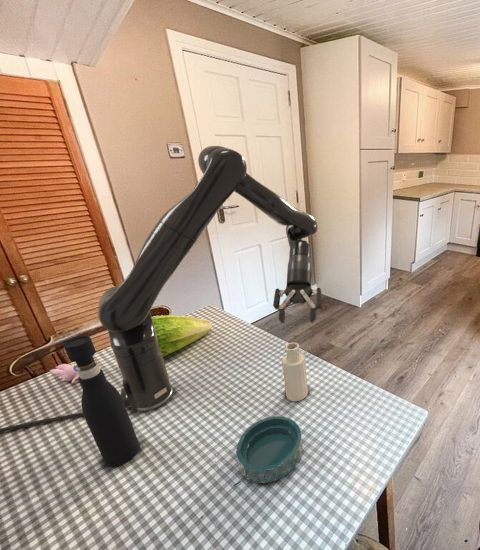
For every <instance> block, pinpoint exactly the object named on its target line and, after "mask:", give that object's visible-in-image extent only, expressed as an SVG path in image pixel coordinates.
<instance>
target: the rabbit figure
mask: <svg viewBox="0 0 480 550" xmlns="http://www.w3.org/2000/svg"><path fill="white" fill-rule="evenodd" d="M77 369H78V367H77V364H74V365H71V364H68V363H62V364H59V365H57V366H55V368H53V369H49V372H50V373H51V374H53V375H55V376H59V377H61V379H62V380H63V381H64V382H71V384H74V383H75V381H76V380H78V378H79V376H78V375H79V374H78V373H77Z"/></svg>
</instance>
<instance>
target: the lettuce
mask: <svg viewBox="0 0 480 550" xmlns="http://www.w3.org/2000/svg"><path fill="white" fill-rule="evenodd" d="M151 317H152V320H153V324H154V327H155V331H156V336H157V339H158V343H159V346H160V349H161V353H162V356H163V358H164V357H166V356H168V355H170V354H173V353H175V352H177V351H179V350H181V349H183V348H185V347H187V346H188V345H190V344H192V343H194V342H196V341H197V340H199V339H201V338H202V337H203V336H205V335H206V334H208V333H209V332H210V331H211V330H212V328H213V325H212V323H211V321H210V320H208V319H204V318H198V317H193V316H188V315H180V314H179V315H177V314H166V315H165V314H163V315H156V316H151Z"/></svg>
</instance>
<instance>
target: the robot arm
mask: <svg viewBox="0 0 480 550" xmlns="http://www.w3.org/2000/svg"><path fill="white" fill-rule="evenodd" d="M197 162H198V163H197V164H198V167H199V169H200V171H201V173H202V176H201V178H200V179H199V181H198V182H197V184H196V185H195V186H194V188H193V189H192V190H191V191H190V192H189V193H188V194H187V195H186V196H184V197H183V198H182V199H180V200H179V201H178V202H177V203H175V204H173V206H171V207H170V208H169V209H168V210H167V211H165V212H164V214H163V215H161V217H160V218H159V220H158V221H157V223H156V224H155V225H154V226H153V228H152V229H151V230H150V232H149V234H148V236H147V237H146V239H145V240H144V243H143V244H142V247H141V249H140V251H139V253H138V256H137V258H136V260H135V262H134V265H133V267H132V269H131V271H129V274H128V275H127V276H126V278H125V279H124V280H123V281H122V282H121V284H117V285H114V286H112V287H109V288H108V289H106V290H105V291H104V292H103V293H102V295H101V296H100V298H99V301H98V307H97V317H98V320H99V323H100V324H101V325H102V327H103V328H104V329H106V330H107V332H108V337H109V342H110V347H111V350H112V353H113V355H114V358H115V360H116V363H117V367H118V369H119V371H120V375H121V377H122V387H123V388H121V390H120V395H121V396H122V398H123V401H124V404H125V406H126V408H130V409H131V412H132V413H136V412H149V411H153V410H155V409H157V408H159V407H161V406H163V405H165V404H166V403H167V402H168V401H169V400H170V399H171V398H172V397H173V395H174V389H173V387H172V384H171V380H170V377H169V374H168V371H167V367H166V363H165V359H164V357H163V356H162V353H161V349H160V346H159V343H158V339H157V336H156V331H155V327H154V324H153V320H152V317H153V316H152V314H151V309H152V307H153V305H154V304H155V302H156V300H157V298H158V296H159V295H160V293H161V292H162V289H163V288H164V286H165V285H166V283H168V281H169V279H171V277H172V276H173V275H174V274H175V273H176V272H177V270H178V268H179V267H181V264H182V263H183V262H184V261H185V259H186V258H187V256H188V255H189V254H190V252H191V251H192V249H194V247H195V246H196V244H197V242H198V241H199V239H200V238H201V237H202V234H203V233H204V231H206V230H207V227H208V226H209V225H210V223H211V222H212V220H213V219H214V217H215V216H216V214H217V213H218V211H219V210H220V208H221V207H222V206H223V205H224V204H225V202H226V201H227V200H228V199H229V198H230V197H231V196H232V195H233V193H234V192H235V193H236V194H237V195H239V196H241V197H242V198H244V199H245V200H246V201H247V202H249V203H250V204H252V205H253V206H254V207H255V208H257V209H258V210H259V211H260V212H262V213H263V214H265V215H266V216H267V217H269V218H270V219H271V220H273V221H274V222H275V223H277V224H279V225H280V226H282V227H285V235H286V237H287V243H288V246H289V252H288V253H289V256H288V263H287V271H286V273H287V274H286V286H285V289H280V288H276V289H274V296H273V304H272V306H273V308H274V310H276V311H278V321H279V322H280V323H281V324H285V320H286V310H287V308H288V307H290V306H291V304H294V305H297V304H302V305H303V304H307V305H308V306H309V307H310V312H309V313H310V314H309V316H310V318H309V321H310V323H312V324H313V323H314V321H316V320H317V319H316V318H317V310H321V309H323V300H322V299H323V297H322V296H323V295H322V288H321V287H317V288H313V289H312V277H313V275H312V274H313V264H312V254H313V253H312V252H313V251H312V244H311V243H310V242H308V241H307V240H304V239H306V238H309V237H312V236H314V235H315V234H316V233H317V232H318V229H319V227H318V222H317V220H316V219H315V218H314V217H313V216H312V214H310V213H308V212H306V211H304V210H301V209H299V208H297V207H294V206H293V205H291V204H290V203H289V202H288V201H287V200H285V199H284V198H282V197H281V196H280V195H279V194H278V193H276V192H275V191H274V190H272V189H270V188H269V187H267V186H265V185H264V184H262V183H261V182H260V181H258V180H256V179H255V178H254V177H252V176H251V175H250V174H249V173H248V172H247V170H248V167H247V162H246V159H245V158H244V156H243V155H242V153H239V152H238V151H236V150H234V149H232V148H228V147H225V146H221V145H208V146H206V147H204V148H203V149H202V150H201V151H200V152H199V155H198V160H197ZM313 294H314V297H316V302H317V303H314V302H313V300H312V299H311V296H312V295H313ZM284 295H285V296H286V297H285V298H284V299H283V301H282V303H281V298H283V296H284ZM78 417H84V415H83V412H76V413H70V414H66V415H60V416H55V417H50V418H45V419H40V420H34V421H29V422H25V423H20V424H15V425H10V426H6V427H1V428H0V433H3V432H9V431H12V430H17V429H22V428H26V427H32V426H36V425H37V426H38V425H40V424H46V423H52V422H57V421H58V422H59V421H62V420H68V419H72V418H78Z"/></svg>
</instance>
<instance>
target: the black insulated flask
mask: <svg viewBox="0 0 480 550" xmlns="http://www.w3.org/2000/svg"><path fill="white" fill-rule="evenodd" d="M63 348H64V351H65V353H66V355H67V358H68V360H69V362H72V363H73V362H74V363H76V365H77V367H78V369H77V373H78V374H79V375H78V376H79V378H78V379H77V380H78V382H79V384H80V388H81V389H82V393H81V401H80V402H81V403H80V404H81V411H82V412H83V415H84V416H83V417H84V420H85V422H86V424H87V426H88V429H89V431H90V433H91V435H92V438H93V440H94V442H95V445H96V446H97V449H98V451H99V454H100V456H101V457H102V460H103V463H104V465H105V466H106V467H108V468H115V467H119V466H120V467H121V466H122V465H124V464H127V463H128V462H129V461H131V460H132V459H133V458H135V457H136V455H137V454H138V452H139V451H140V448H141V444H140V441H139V439H138V436H137V433H136V430H135V428H134V426H133V423H132V420H131V418H130V414H129V412H128V410H127V407H126V406H125V404H124V401H123V398H122V396H121V392H120V391H118V389H117V388H116V386H114V385H113V384H112V383H111V382H110V381H108V380H107V377H106V375H105V373H104V370H103V369H102V368H101V367H100V364H99V363H98V362H96V360H95V358H94V355H96V352H97V350H96V348H95V345H94V342H93V340H92V338H91V337H90V336H88V335H84V336H77V337H73V338H72V339H70V340H68V341H66V342H65V343H64V344H63ZM82 412H81V413H82Z"/></svg>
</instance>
